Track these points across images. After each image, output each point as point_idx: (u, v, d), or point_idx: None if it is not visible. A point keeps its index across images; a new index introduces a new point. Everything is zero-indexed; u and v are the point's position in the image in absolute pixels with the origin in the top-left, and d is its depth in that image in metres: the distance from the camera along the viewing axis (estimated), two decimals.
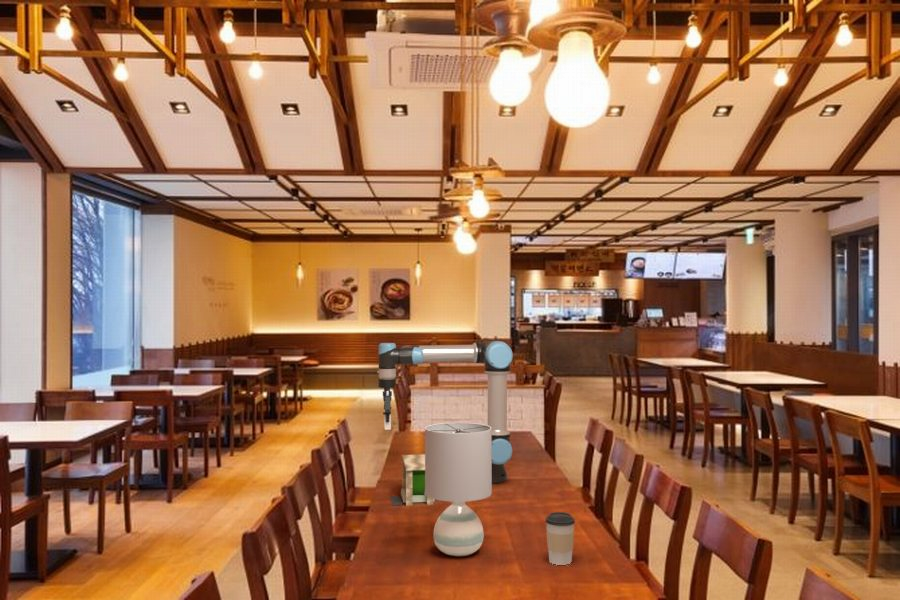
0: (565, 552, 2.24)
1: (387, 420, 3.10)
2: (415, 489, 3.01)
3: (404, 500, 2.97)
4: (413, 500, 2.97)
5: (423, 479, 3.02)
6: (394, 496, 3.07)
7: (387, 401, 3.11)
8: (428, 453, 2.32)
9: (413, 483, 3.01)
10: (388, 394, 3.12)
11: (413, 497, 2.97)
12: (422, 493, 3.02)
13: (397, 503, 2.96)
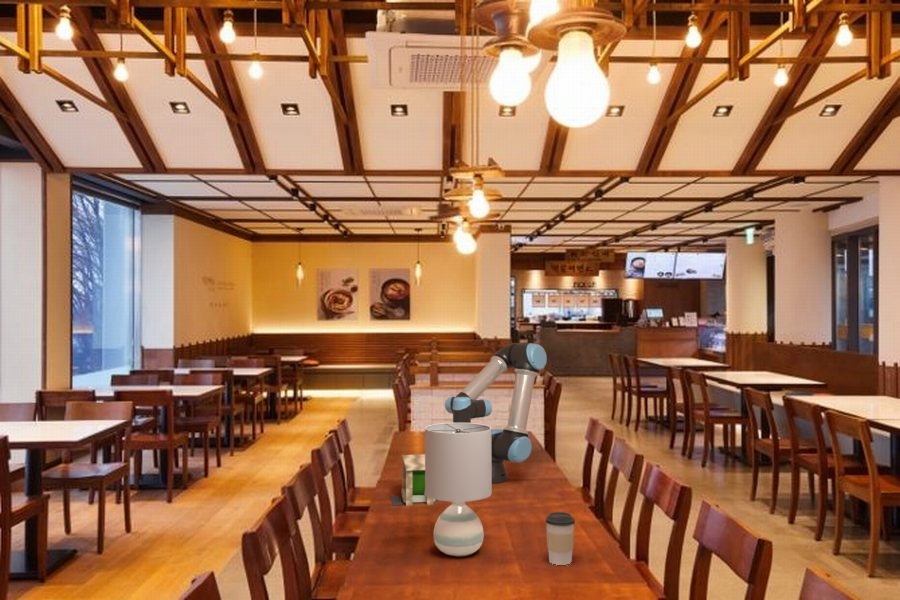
0: (565, 552, 2.24)
1: None
2: (415, 489, 3.01)
3: (405, 500, 2.97)
4: (414, 500, 2.97)
5: (423, 479, 3.02)
6: (394, 496, 3.07)
7: None
8: (428, 453, 2.32)
9: (413, 483, 3.01)
10: None
11: (414, 497, 2.97)
12: (422, 493, 3.02)
13: (397, 503, 2.96)
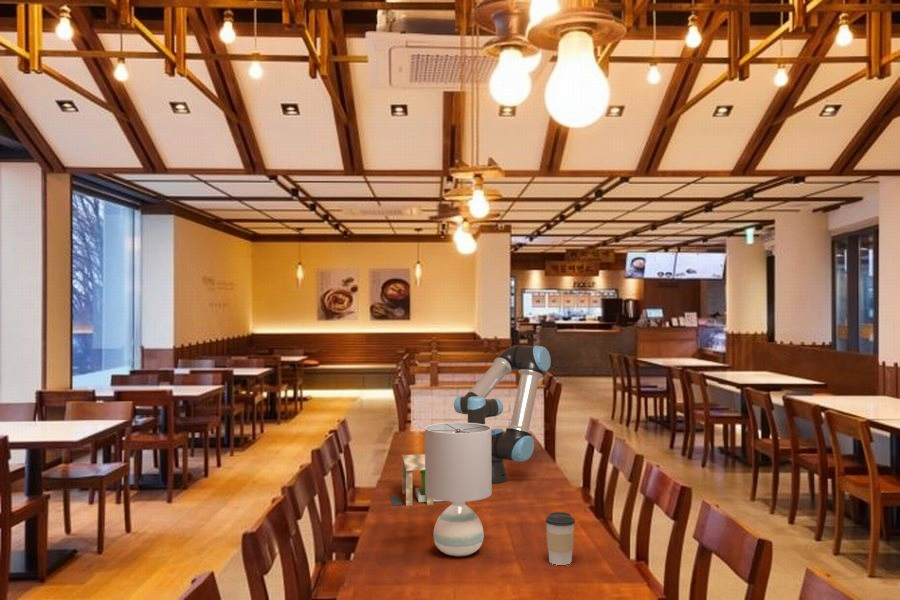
0: (565, 552, 2.24)
1: None
2: None
3: (420, 499, 2.98)
4: None
5: None
6: (394, 496, 3.07)
7: None
8: (428, 453, 2.32)
9: None
10: None
11: None
12: None
13: (397, 503, 2.96)
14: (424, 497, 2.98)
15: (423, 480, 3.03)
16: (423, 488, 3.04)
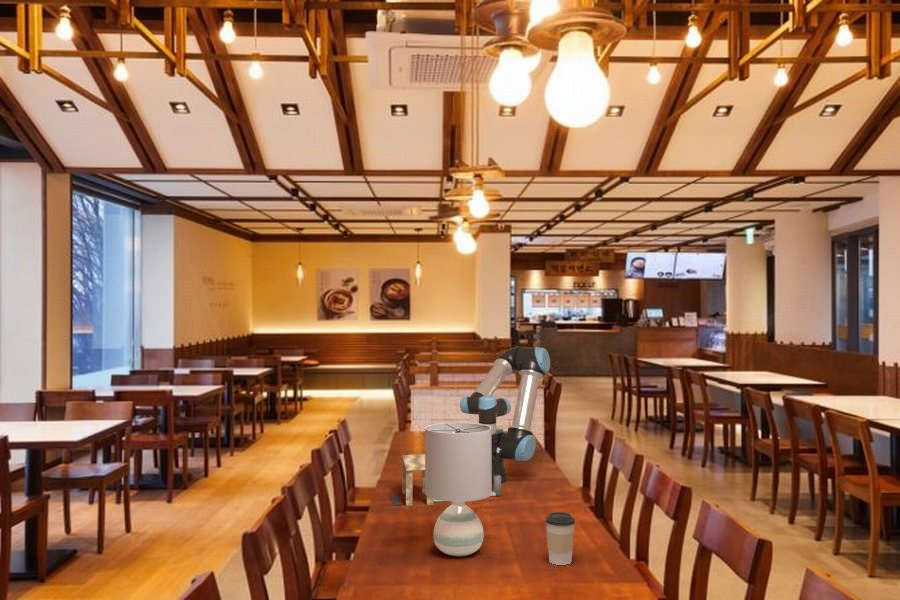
0: (565, 552, 2.24)
1: None
2: None
3: None
4: None
5: None
6: (394, 496, 3.07)
7: None
8: (428, 453, 2.32)
9: None
10: None
11: None
12: None
13: (397, 503, 2.96)
14: None
15: None
16: None
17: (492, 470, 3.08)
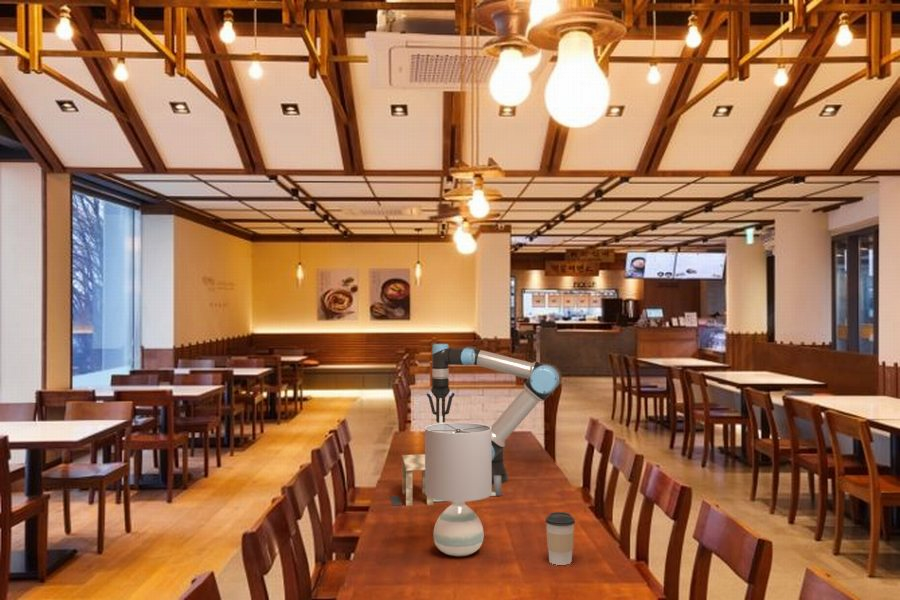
0: (565, 552, 2.24)
1: (436, 420, 3.31)
2: None
3: None
4: None
5: None
6: (394, 496, 3.07)
7: (430, 403, 3.31)
8: (428, 453, 2.32)
9: None
10: (428, 397, 3.30)
11: None
12: None
13: (397, 503, 2.96)
14: None
15: None
16: None
17: (445, 412, 3.31)
